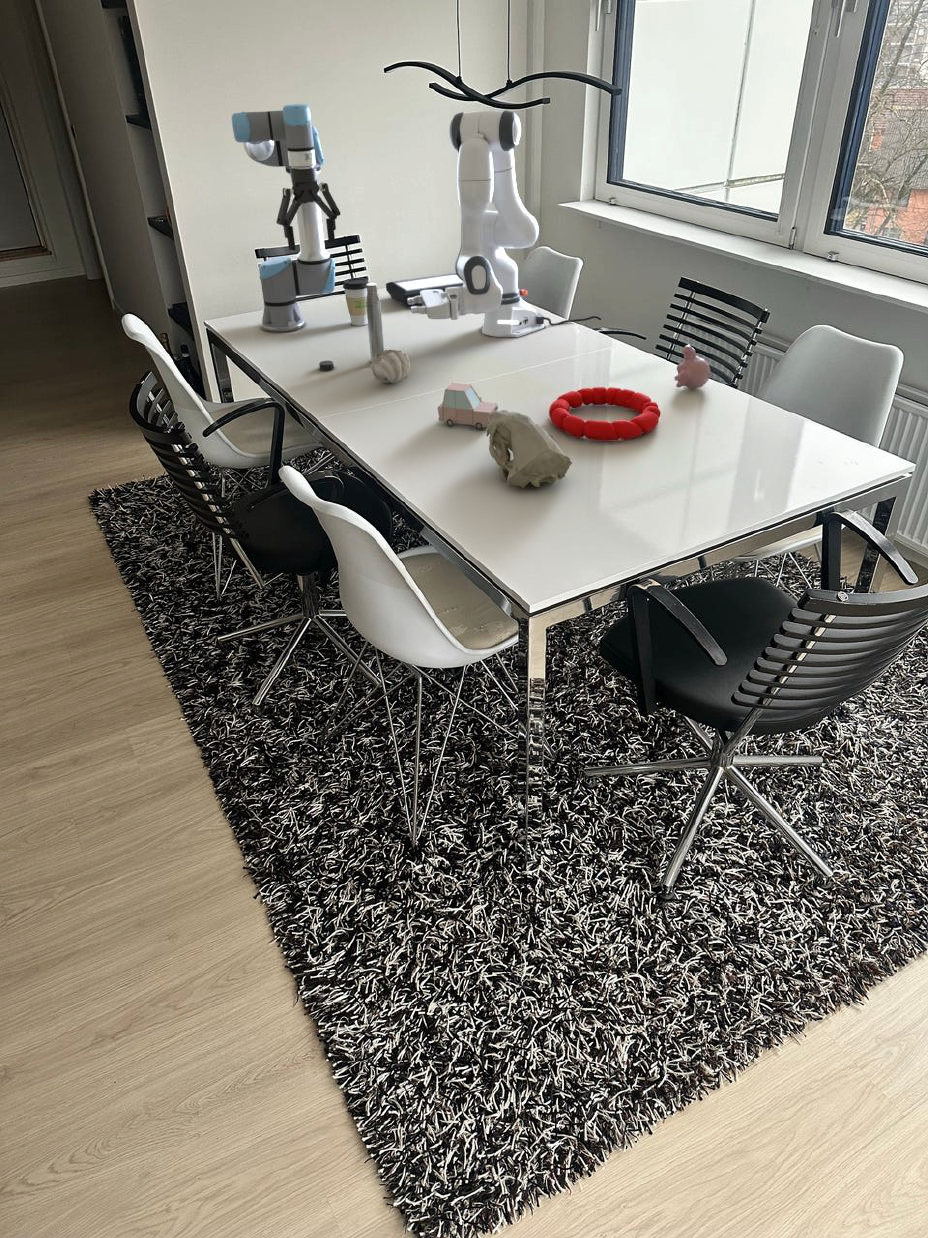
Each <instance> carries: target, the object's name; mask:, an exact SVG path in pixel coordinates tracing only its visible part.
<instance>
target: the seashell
mask: <svg viewBox="0 0 928 1238" xmlns="http://www.w3.org/2000/svg"><path fill="white" fill-rule="evenodd" d="M410 368H411V362H410V358H409V357H408V354H407V353H403V351H401V350H396V349H384V352H383V353H376V354H375V357H374V358H373V361H372V362H371V371H372V374H373V377H375V378H376V379H377V380H378V381H379V382H380V383H384V384H388V383H389V382H390V383H393V384H396V383H400V382H402V381H403V380H404V378H406V376H407V375H408V373H409V372H410Z"/></svg>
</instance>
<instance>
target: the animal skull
mask: <svg viewBox="0 0 928 1238" xmlns="http://www.w3.org/2000/svg"><path fill="white" fill-rule="evenodd" d="M485 436H486V438H487V437H489V438H488V440H489V444H488V445H489V446H488V450H489V454H490V456H491V457H492V458H493V459H494V460H495V462H496V464H497V466H499V468H500V470H501V471H502V472H501V478H502V479H507V480H506V484H507V486H517V487H518V486H519V488H523V489H524V488H526V486H527V485H529V483H531V485H533V486H534V487H536V488H540V485H541V484H542V482H544V483H549V484H550V485H553V484H555V483H556V482H557V480H561V479H563V478H565V476H566V474H567V472H568V471H569V469H570V467H571V466H572V464H573V462H572V461H571V458H570V457H568V456H567V455H565V453H564V451H562V449H561V448H560V446H559V444H557V443H556V439H555V438H554V436H553V435H551V434H550V433H548V432H547V431H546V430H545V429H544V428H542V427H541V426H539V425H538V424H537V423H536V424H535V422H534V421H533V419H532V418H531V417H530V416H529V415H527V414H524V413H519V412H515V411H509V410H507V409H502V410H500V411H499V410H497V411H496V412H492V413H491V414H490V422H488V423H487V427H486V435H485ZM511 453H512V454H511ZM511 455H512V457H513V458H512V460H511ZM507 474H508V475H507Z"/></svg>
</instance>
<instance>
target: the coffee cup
mask: <svg viewBox="0 0 928 1238" xmlns="http://www.w3.org/2000/svg"><path fill="white" fill-rule="evenodd" d="M368 283H370V282H369V279H367V278H365V277H351V278H347V279H345V280H344V281H343V285H342V288H343V290H344V297H345V301H346V305H347V310H348V314H349V318H350V323H351V325H353V326H357V327H359V326H365V325H368V320H367V309H366V296H367V286H366V285H367V284H368Z"/></svg>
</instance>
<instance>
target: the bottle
mask: <svg viewBox="0 0 928 1238" xmlns="http://www.w3.org/2000/svg"><path fill="white" fill-rule="evenodd" d="M366 286H367V296H366V309H367V320H368V324H367V330H368V340H369V341H368V342H369V351H370V352H369V353H370V362H371V363H372V361H373V358H374V357H375V354H376V353H383V352H384V351H385V343H384V331H383V319H382V305H381V299H380V296H379V293H378V284H377V283H376V282H369V283H368V284H367V285H366Z"/></svg>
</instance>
